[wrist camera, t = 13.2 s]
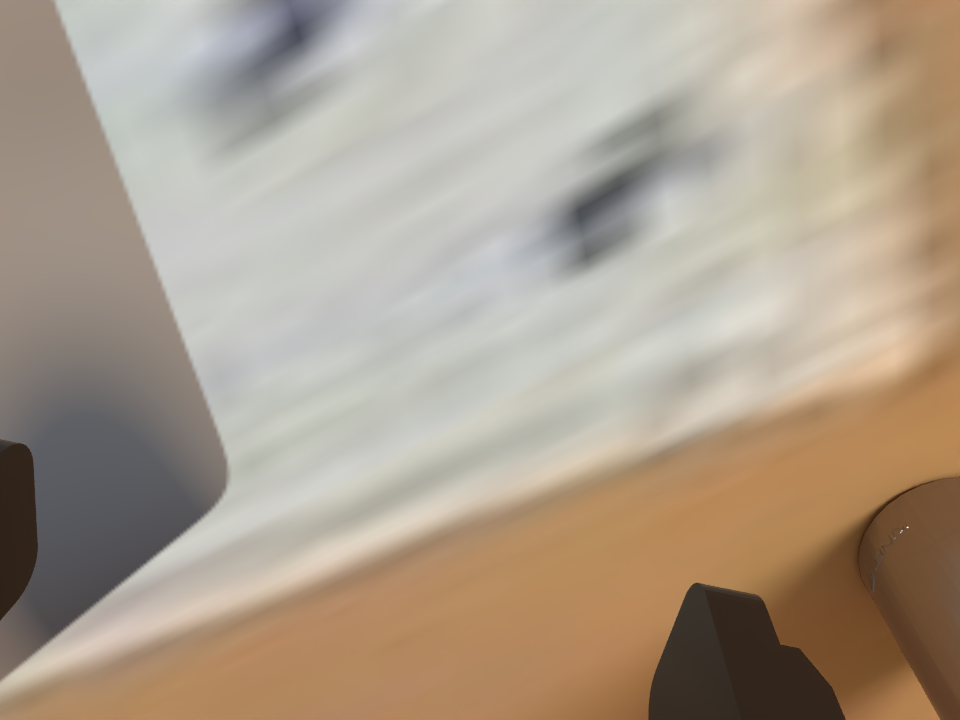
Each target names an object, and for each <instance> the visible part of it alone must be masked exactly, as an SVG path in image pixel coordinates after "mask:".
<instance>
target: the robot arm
mask: <svg viewBox="0 0 960 720" xmlns="http://www.w3.org/2000/svg"><path fill="white" fill-rule="evenodd" d="M37 551H38V542H37V524H36V505H35V487H34V468H33V457H32V454H31V452H30V450H29V448H28V447H27V446H26V445H24V444H21V443H16V442H11V441H6V440H1V439H0V620H1V619H2V618H3V617H4V615H5V614H6V613H7V612H8V611H9V610H10V609H11V607H12V606H13V605H14V604H15V603H16V602H17V600H18V599H19V598H20V596H21V595H22V593H23V592H24V590H25V588H26V586H27V585H28V582H29V580H30V578H31V575H32V573H33V570H34V567H35V563H36V558H37ZM858 564H859V569H860V574H861V577H862V579H863V581H864V583H865V585H866V587H867V589H868V591H869V593H870V594H871V596H872V598H873V600H874V602H875V603H876V605H877V607H878V609H879V610H880V612H881V614H882V616H883V618H884V619H885V621H886V623H887V625H888V627H889V628H890V630H891V632H892V634H893V636H894V638H895V640H896V642H897V643H898V645H899V647H900V649H901V650H902V652H903V654H904V656H905V658H906V659H907V661H908V663H909V665H910V666H911V668H912V670H913V672H914V674H915V675H916V677H917V679H918V681H919V682H920V684H921V686H922V688H923V690H924V691H925V693H926V695H927V697H928V699H929V700H930V702H931V704H932V706H933V707H934V709H935V711H936V713H937V715H938V716H939V718H940V720H960V477H955V478H947V479H940V480H937V481H934V482H930V483H927V484H924V485H921V486H919V487H917V488H915V489H912V490H910V491H908V492H906V493H904V494H902V495H901V496H900V497H898V498H897V499H895V500H894V501H893V502H891V503H890V504H888V505H887V506H886V507H885V508H884V509H883V510H882V511H881V512H880V513H879V514H878V515H877V516H876V517H875V518H874V520H873V521H872V523H871V524H870V526H869V527H868V529H867V530H866V532H865V534H864V537H863V540H862V542H861V545H860V548H859V560H858ZM649 720H846V719H845V717H844V715H843V712H842V710H841V708H840V705H839V703H838V701H837V698H836V696H835V694H834V691H833V689H832V687H831V686H830V685H829V683H828V682H827V681H826V680H825V679H824V677H823V676H822V675H821V674H820V673H819V671H818V670H817V669H816V668H815V667H814V666H813V664H812V663H811V662H810V661H809V660H808V658H807V657H806V656H805V655H804V654H803V652H802V651H801V650H800V649H799V648H794V647H789V646H784V645H780V643H779V640H778V638H777V635H776V632H775V630H774V627H773V624H772V622H771V619H770V616H769V614H768V611H767V608H766V606H765V604H764V602H763V600H762V599H761V598H760V597H759V596H758V595H755V594H750V593H745V592H740V591H735V590H730V589H725V588H720V587H715V586H710V585H705V584H700V583H694V584H693V585H692V586H691V587H690V588H689V590H688V591H687V593H686V596H685V598H684V600H683V603H682V605H681V608H680V611H679V613H678V616H677V618H676V621H675V623H674V626H673V628H672V631H671V633H670V636H669V638H668V641H667V644H666V646H665V649H664V651H663V654H662V656H661V659H660V661H659V664H658V666H657V669H656V672H655V674H654V678H653V681H652V686H651V691H650V699H649Z"/></svg>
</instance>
